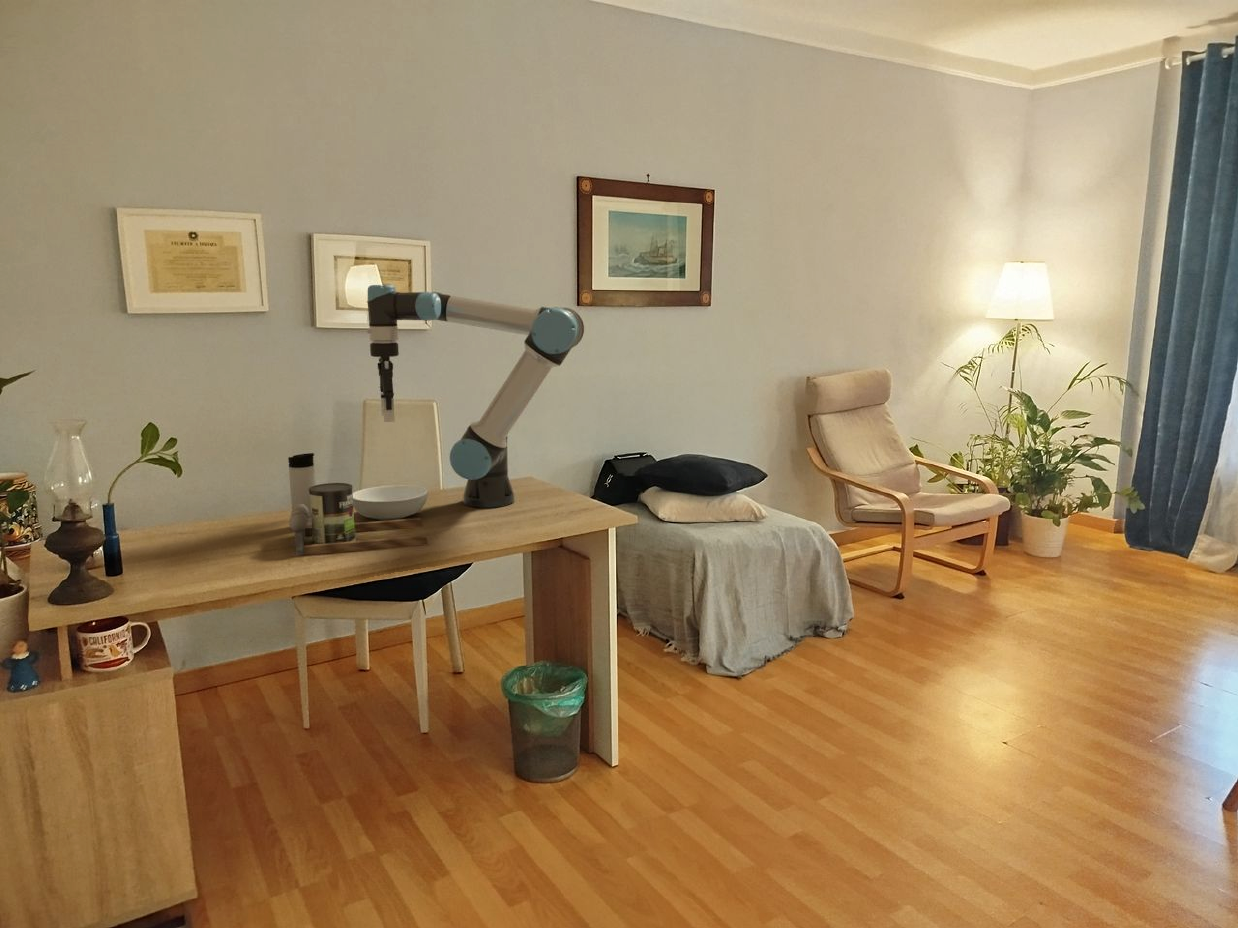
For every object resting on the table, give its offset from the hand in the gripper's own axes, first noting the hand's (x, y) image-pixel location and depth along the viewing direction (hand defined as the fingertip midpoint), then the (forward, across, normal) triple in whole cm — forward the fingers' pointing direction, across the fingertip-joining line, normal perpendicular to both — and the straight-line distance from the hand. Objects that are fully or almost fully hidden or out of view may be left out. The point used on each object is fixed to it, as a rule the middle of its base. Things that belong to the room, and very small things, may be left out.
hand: (388, 418), depth 239 cm
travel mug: (+27, +11, -23) cm, 37 cm away
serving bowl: (+27, +6, -1) cm, 28 cm away
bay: (+27, +28, -9) cm, 40 cm away
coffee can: (+27, +28, -16) cm, 42 cm away
